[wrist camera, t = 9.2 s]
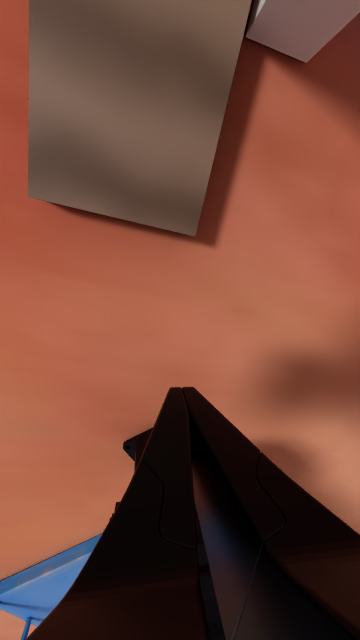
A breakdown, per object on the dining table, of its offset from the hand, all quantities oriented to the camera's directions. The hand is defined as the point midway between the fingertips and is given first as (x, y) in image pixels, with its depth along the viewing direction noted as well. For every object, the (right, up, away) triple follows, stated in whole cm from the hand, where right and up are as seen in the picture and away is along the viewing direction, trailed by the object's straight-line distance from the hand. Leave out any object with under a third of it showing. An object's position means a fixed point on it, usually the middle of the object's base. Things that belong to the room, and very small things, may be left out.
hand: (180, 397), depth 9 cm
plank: (-2, +17, +6) cm, 18 cm away
